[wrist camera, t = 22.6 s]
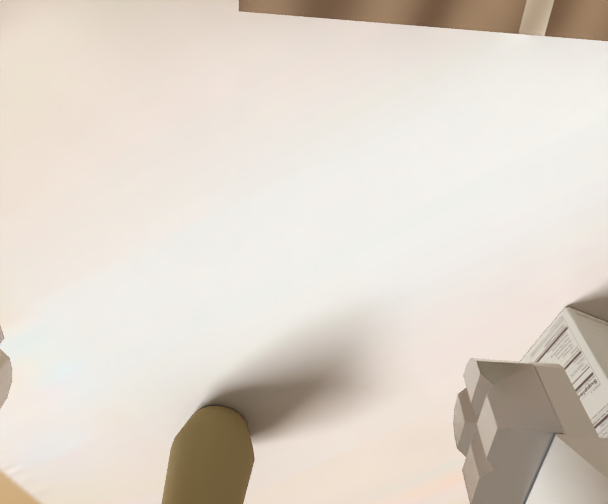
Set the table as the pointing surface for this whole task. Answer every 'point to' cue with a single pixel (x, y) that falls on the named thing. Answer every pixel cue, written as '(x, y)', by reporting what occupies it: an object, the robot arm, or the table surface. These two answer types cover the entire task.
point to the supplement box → (579, 360)
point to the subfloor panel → (458, 14)
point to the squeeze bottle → (210, 459)
